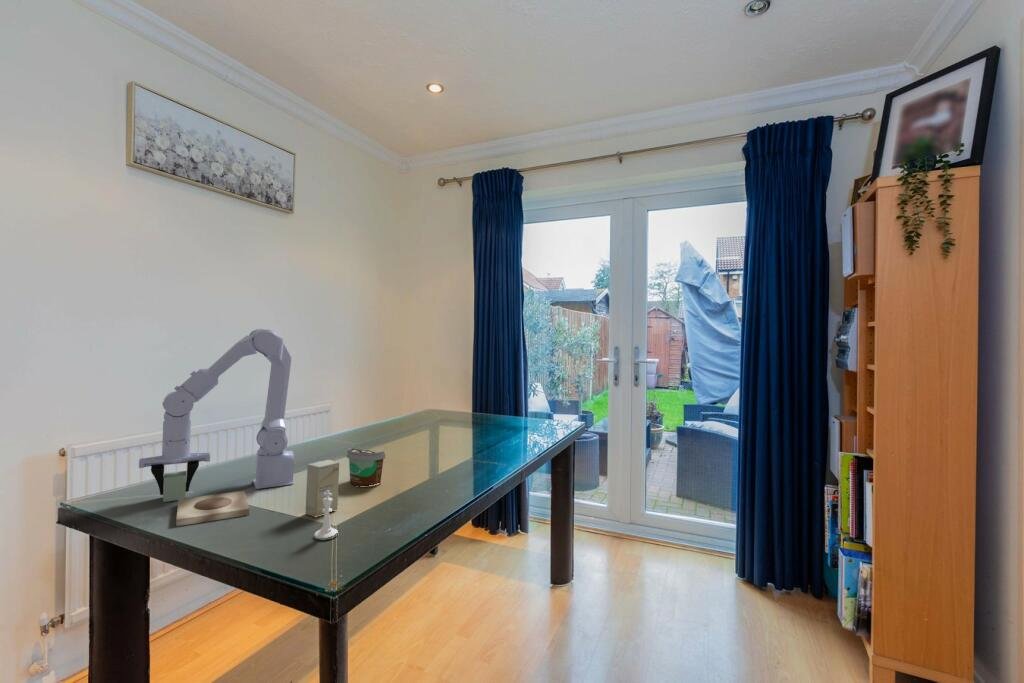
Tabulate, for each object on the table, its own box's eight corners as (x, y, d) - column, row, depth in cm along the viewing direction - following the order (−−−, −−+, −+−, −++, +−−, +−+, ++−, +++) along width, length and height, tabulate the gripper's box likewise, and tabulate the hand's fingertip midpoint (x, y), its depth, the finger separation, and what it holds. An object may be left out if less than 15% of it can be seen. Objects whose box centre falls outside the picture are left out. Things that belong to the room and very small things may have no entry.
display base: (244, 496, 121) (244, 489, 120) (249, 514, 109) (249, 507, 109) (178, 505, 113) (178, 498, 113) (176, 526, 101) (176, 518, 101)
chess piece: (329, 542, 97) (331, 495, 97) (308, 539, 98) (310, 492, 98) (342, 532, 102) (344, 488, 102) (322, 530, 103) (324, 485, 103)
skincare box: (315, 518, 109) (317, 467, 108) (304, 514, 111) (306, 464, 111) (338, 510, 114) (340, 461, 114) (327, 506, 116) (329, 458, 116)
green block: (185, 493, 120) (186, 470, 120) (185, 499, 116) (186, 475, 116) (164, 496, 118) (164, 473, 118) (162, 502, 114) (163, 478, 114)
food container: (336, 484, 133) (337, 450, 133) (350, 478, 139) (352, 445, 139) (370, 491, 128) (371, 456, 128) (384, 485, 134) (385, 451, 134)
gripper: (138, 445, 109) (136, 501, 110) (211, 439, 118) (209, 492, 118) (141, 439, 115) (139, 492, 115) (210, 434, 123) (208, 484, 124)
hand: (174, 492), depth 117 cm, fingers closed on green block, 4 cm apart
